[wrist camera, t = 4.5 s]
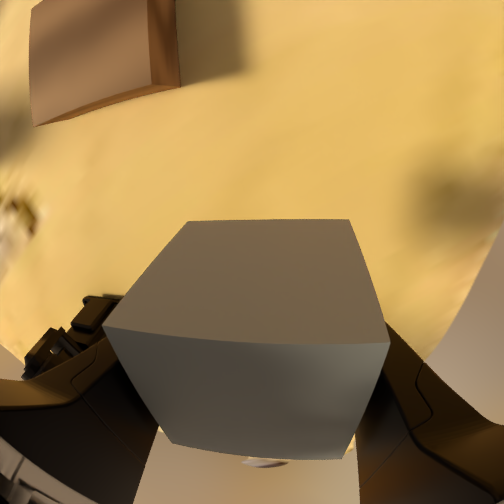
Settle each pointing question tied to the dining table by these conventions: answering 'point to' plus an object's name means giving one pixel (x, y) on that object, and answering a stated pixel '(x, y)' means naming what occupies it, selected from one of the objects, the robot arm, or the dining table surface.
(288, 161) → the dining table surface
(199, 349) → the slate cube
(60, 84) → the walnut block
